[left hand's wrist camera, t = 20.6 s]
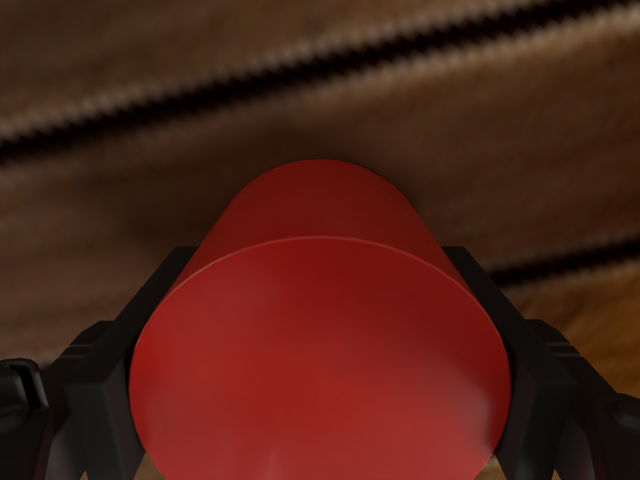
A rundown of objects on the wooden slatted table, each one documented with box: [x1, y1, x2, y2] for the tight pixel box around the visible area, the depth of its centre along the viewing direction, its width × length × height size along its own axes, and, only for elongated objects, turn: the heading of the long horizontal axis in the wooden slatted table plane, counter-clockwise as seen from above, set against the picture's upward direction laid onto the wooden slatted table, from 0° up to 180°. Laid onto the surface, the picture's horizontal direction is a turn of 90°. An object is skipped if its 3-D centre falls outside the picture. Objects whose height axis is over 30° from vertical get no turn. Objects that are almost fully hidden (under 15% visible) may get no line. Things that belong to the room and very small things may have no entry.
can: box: [128, 159, 511, 480], centre depth 12 cm, size 8×8×7 cm
